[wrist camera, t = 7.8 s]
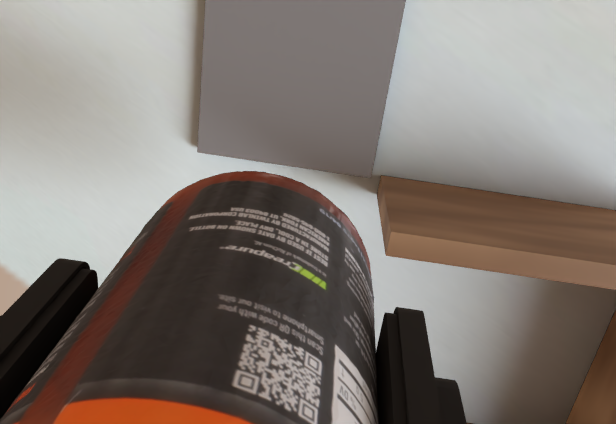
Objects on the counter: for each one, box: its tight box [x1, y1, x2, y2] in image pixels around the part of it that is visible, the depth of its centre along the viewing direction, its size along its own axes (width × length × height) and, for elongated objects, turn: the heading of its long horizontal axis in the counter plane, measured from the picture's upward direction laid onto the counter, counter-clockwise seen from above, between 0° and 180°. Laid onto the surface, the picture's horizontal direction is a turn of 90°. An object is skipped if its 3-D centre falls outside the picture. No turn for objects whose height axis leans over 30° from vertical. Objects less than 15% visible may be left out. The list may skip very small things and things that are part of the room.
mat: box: [197, 0, 406, 178], centre depth 23 cm, size 8×8×1 cm
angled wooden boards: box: [377, 175, 616, 424], centre depth 26 cm, size 15×14×6 cm
